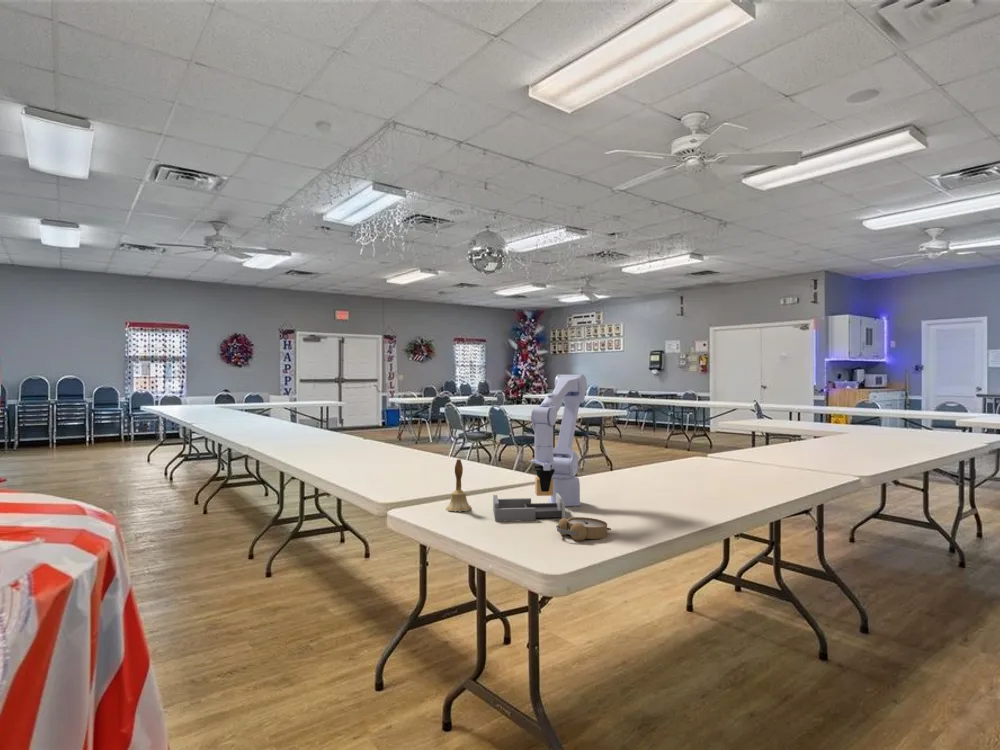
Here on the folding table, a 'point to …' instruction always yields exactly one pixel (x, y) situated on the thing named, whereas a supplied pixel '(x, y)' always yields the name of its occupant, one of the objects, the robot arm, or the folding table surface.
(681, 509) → the folding table surface
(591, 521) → the alarm clock
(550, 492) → the block
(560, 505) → the tray
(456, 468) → the hand bell
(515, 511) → the frame
